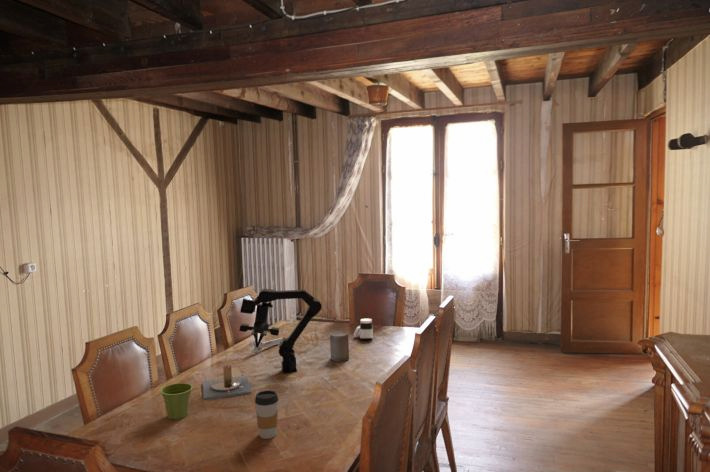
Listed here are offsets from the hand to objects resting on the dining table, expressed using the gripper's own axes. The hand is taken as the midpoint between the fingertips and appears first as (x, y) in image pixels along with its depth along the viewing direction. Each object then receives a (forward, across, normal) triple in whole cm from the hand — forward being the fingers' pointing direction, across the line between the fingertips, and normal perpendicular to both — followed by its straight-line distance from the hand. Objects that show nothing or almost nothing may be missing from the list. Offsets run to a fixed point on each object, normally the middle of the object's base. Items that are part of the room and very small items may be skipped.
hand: (257, 347), depth 236 cm
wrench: (+10, +4, +39) cm, 40 cm away
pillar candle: (+5, +42, +15) cm, 45 cm away
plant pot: (+20, -24, -42) cm, 52 cm away
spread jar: (0, +59, +49) cm, 77 cm away
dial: (+15, -10, -16) cm, 24 cm away
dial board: (+16, -10, -16) cm, 25 cm away
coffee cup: (+16, +12, -62) cm, 65 cm away
